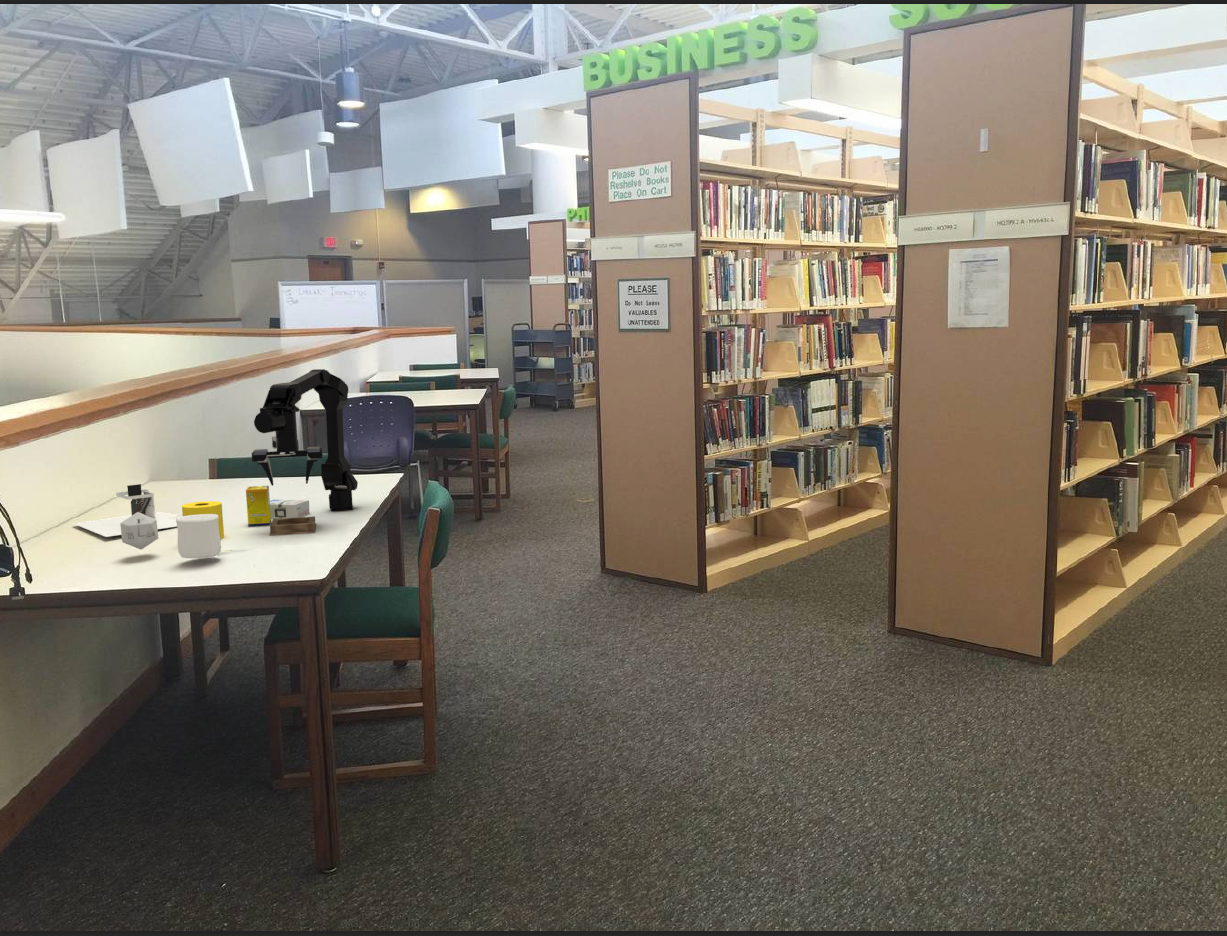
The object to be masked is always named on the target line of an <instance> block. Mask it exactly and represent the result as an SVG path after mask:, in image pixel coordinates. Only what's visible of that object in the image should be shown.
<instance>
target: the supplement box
mask: <svg viewBox="0 0 1227 936" xmlns="http://www.w3.org/2000/svg"><path fill="white" fill-rule="evenodd" d="M245 497H246V511H247V523H248V528H252V527H253V528H254V527H268V526H269V527H270V525H271V523H272V520H271V512H270V501H271V500H270V499H271V498H270V497H271V496H270V485H257V486H255V485H253V486H248V487H246V489H245Z"/></svg>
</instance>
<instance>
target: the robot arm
mask: <svg viewBox="0 0 1227 936" xmlns="http://www.w3.org/2000/svg"><path fill="white" fill-rule="evenodd" d="M348 386H349V385H348V384H346V382H345V381H344V380H343V379H342V378H340V377H338V376H336V375H334V374H332V373H331V372H330V371H329V370H327V369H325V368H324V369H323V368H322V369H321V368H319V369H317V368H316V369H310V370H309V372H307V373H304V374H303V375H301V376H299V377H297V378H295V379H293V380H291V381H289V382H280V383H275V384H272V385H271V386H270V388H269V390H268V392H267V394H266V395H267V396H266V398H265V401H264V403H263V405H262V407H260V408H259V413H257V414H256V415H255V416H254V417H255V418H254V420H253V423H254V427H255V429H256V431H258V432H259V433H262V434H267V433H268V434H269V433H273V432H275V436H272V437H271V438H272V439H271V443H272V446H271V447H272V449H276V451H275V450H274V451H269V450H268V448H262V449H261V448H260V449H257V448H256V449H254V450H253V451H252V452H251V462H255V463H257V465H260V466H261V467H262V469H263V470H264V471H265V474H266V476H267V478H268V480H269V482H270V485H271V486H274V477H273V473H272V467H271V461H270V459H277V458H278V459H279V458H280V459H281V458H299V457H301V458H302V457H307V458H306V469H305V484H306V485H307V484H309V479H310V474H311V472H312V468H313V465H314V463H317V462H319V459H323V457H324V454H323V453H324V452H323V447H321V446H308V447H307V449H300V445H299V439H298V428H297V424H298V423H297V412H300V411H301V409H300V408H299V407H298V406H296V404H298V402H299V401H300V400H302V395H304V394H306V393H307V392H309V391H311V390H314V391H315V392H316V393H317V394H318V397H319V402H320V404H321V405H322V407H323V408H324V410H325V425H326V426H325V428H326V432H325V433H326V449H327V453H326V454H327V458H326V460H325V461H324V463H321V465H320V468H321V474H320V475H321V476H320V477H321V481H322V483H323V486H324V490H325V491H330V493H329V494H328V507H329V509H330V511H331V512H340V511H343V512H344V511H353V510H354V505H353V491H356V490H357V489H358V483H359V482H358V480H357V479H356V478H355V476H354V475H353V473H352V470H351V464H350V462H349V461H348V460H347V459H346V456H345V438H344V415H343V409H344V407H345V406H346V403H347V401H348V396H349V395H348V393H349V387H348Z"/></svg>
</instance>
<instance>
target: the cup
mask: <svg viewBox="0 0 1227 936" xmlns="http://www.w3.org/2000/svg"><path fill="white" fill-rule="evenodd" d="M175 519H176V523H177V526H176V528H177V549H178V554H179V556H180V557H181V558H183V559H204V558H206V559H207V558H210V557H216V556H218V555H219V554H220V553H221V551H222V550H221V549H222V543H221V541H222V540H221V539H220V534H219V526H218V515H216V514H199V515H189V516H183V515H182V516H177V518H175Z"/></svg>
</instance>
